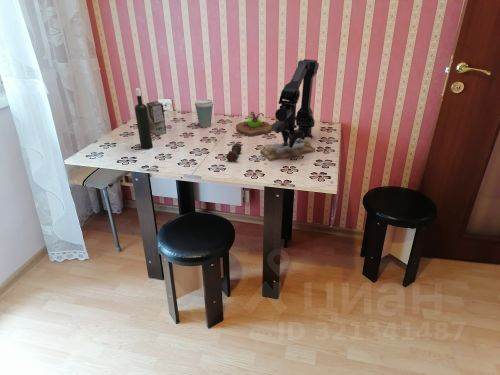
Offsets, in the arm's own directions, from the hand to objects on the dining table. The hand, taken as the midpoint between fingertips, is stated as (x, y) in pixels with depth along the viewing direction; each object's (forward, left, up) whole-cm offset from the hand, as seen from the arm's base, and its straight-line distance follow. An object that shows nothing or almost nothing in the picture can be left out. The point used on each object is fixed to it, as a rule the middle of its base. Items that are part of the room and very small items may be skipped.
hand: (288, 145), depth 181 cm
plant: (+2, -35, -4) cm, 36 cm away
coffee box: (+52, -55, -4) cm, 76 cm away
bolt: (+25, -8, -4) cm, 26 cm away
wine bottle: (+62, -36, -4) cm, 72 cm away
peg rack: (0, 0, -4) cm, 4 cm away
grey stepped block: (0, 0, -2) cm, 2 cm away
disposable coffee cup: (+25, -53, -4) cm, 59 cm away
